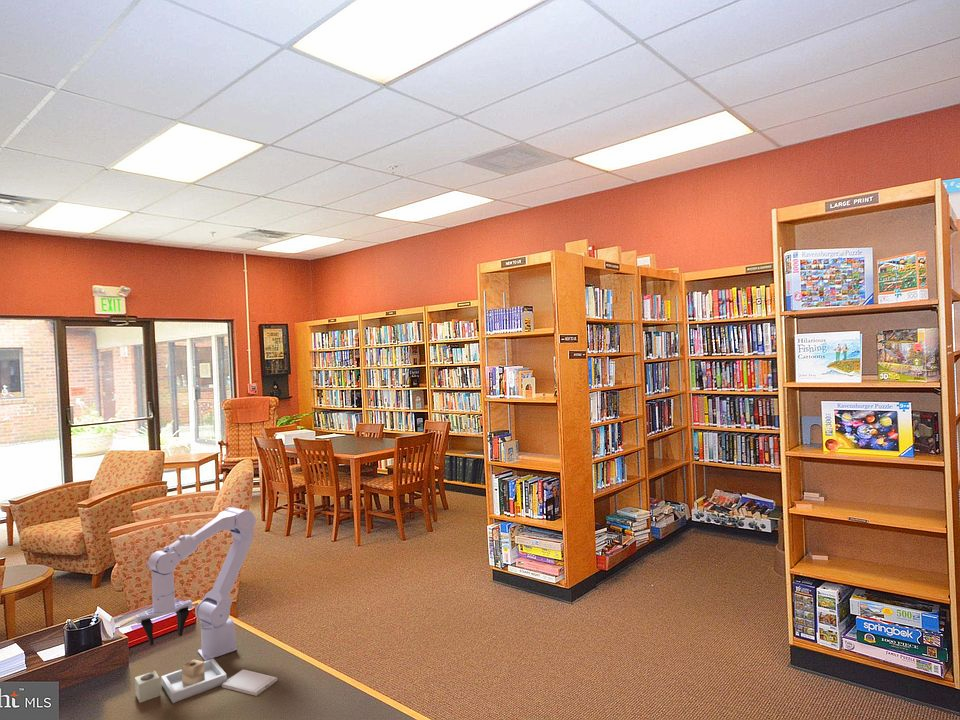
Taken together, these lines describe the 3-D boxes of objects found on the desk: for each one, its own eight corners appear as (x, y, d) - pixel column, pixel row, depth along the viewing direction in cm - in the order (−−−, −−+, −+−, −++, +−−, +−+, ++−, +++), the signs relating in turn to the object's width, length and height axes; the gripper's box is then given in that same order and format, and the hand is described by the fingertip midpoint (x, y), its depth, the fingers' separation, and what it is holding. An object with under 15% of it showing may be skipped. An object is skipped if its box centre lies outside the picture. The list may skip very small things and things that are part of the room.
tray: (213, 666, 180) (213, 658, 180) (226, 682, 171) (226, 674, 171) (161, 685, 171) (161, 676, 171) (172, 703, 162) (172, 693, 162)
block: (194, 676, 174) (193, 659, 174) (204, 679, 172) (203, 661, 172) (182, 684, 170) (181, 666, 170) (192, 686, 169) (192, 668, 168)
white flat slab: (221, 683, 169) (256, 691, 164) (243, 668, 177) (277, 676, 172) (221, 689, 169) (256, 698, 164) (244, 674, 177) (277, 682, 172)
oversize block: (156, 688, 170) (155, 670, 170) (160, 695, 166) (159, 677, 166) (135, 695, 167) (134, 677, 167) (139, 703, 163) (138, 684, 163)
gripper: (186, 582, 185) (188, 626, 185) (132, 596, 175) (134, 643, 175) (193, 588, 179) (195, 634, 180) (138, 603, 170) (140, 652, 170)
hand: (165, 639), depth 177 cm, fingers open, 7 cm apart
